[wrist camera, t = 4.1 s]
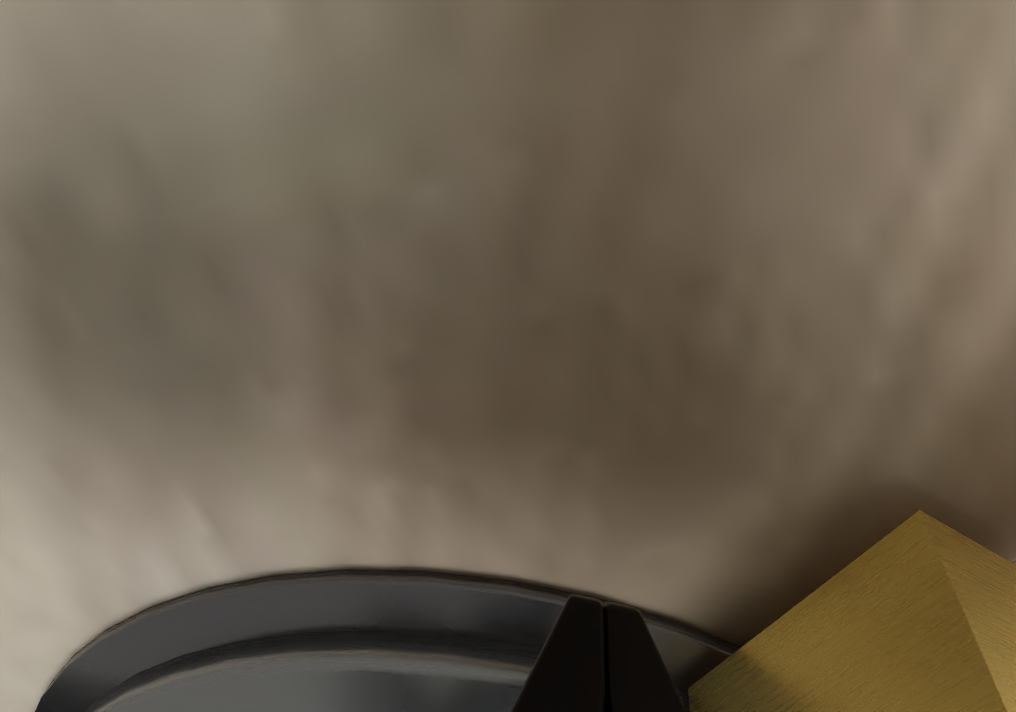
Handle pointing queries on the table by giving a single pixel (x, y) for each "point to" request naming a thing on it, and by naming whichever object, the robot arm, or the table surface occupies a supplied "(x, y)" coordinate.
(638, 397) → the table surface
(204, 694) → the turntable
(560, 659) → the robot arm
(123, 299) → the table surface
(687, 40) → the table surface
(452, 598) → the turntable base
